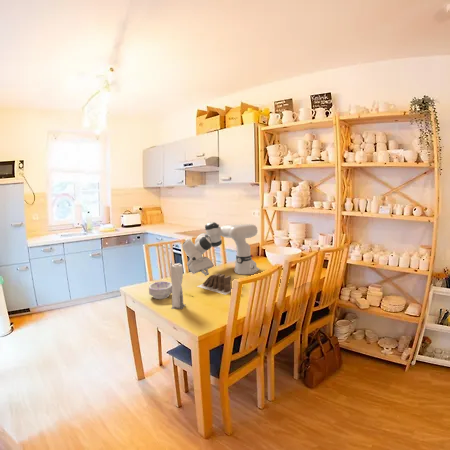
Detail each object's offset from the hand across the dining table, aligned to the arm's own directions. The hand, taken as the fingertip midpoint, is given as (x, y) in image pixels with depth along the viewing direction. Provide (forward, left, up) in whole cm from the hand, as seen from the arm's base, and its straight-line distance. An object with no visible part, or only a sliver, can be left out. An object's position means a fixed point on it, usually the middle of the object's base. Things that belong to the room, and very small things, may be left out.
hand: (207, 274), depth 222 cm
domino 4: (0, +13, -8) cm, 15 cm away
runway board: (0, +8, -9) cm, 12 cm away
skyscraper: (+36, +8, -9) cm, 38 cm away
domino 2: (0, +3, -7) cm, 8 cm away
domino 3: (0, +8, -8) cm, 11 cm away
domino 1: (0, -2, -7) cm, 7 cm away
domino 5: (0, +18, -8) cm, 20 cm away
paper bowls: (+32, -12, -9) cm, 35 cm away
